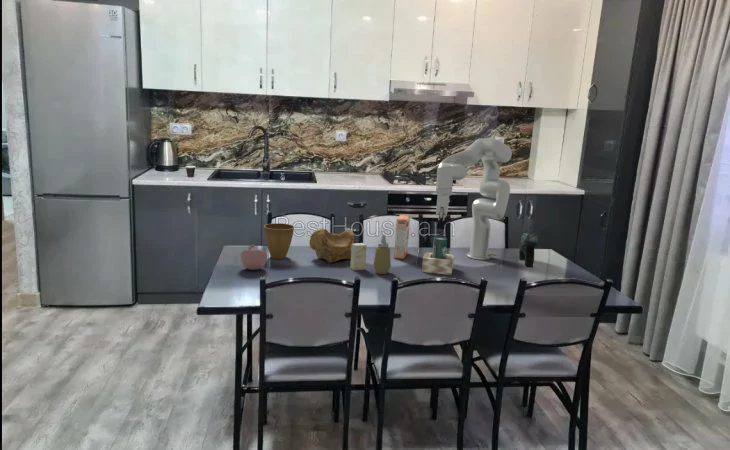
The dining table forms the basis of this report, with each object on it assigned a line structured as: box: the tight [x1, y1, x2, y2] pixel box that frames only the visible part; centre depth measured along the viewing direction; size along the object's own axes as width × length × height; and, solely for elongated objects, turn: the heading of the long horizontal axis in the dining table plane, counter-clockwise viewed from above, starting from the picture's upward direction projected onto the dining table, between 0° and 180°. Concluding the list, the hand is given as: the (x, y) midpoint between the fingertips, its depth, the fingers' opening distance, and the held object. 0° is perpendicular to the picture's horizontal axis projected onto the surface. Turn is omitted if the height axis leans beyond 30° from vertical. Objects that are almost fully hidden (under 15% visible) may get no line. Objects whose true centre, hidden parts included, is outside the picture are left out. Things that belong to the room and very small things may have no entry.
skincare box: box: [349, 242, 368, 271], centre depth 260 cm, size 6×4×12 cm
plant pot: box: [263, 222, 295, 260], centre depth 273 cm, size 15×15×16 cm
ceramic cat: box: [518, 226, 539, 268], centre depth 285 cm, size 20×6×20 cm, turn 177°
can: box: [432, 236, 448, 259], centre depth 265 cm, size 6×6×15 cm
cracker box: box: [393, 214, 411, 260], centre depth 287 cm, size 14×6×21 cm, turn 168°
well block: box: [421, 251, 455, 276], centre depth 265 cm, size 14×12×7 cm
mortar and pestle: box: [239, 244, 268, 271], centre depth 251 cm, size 12×12×11 cm
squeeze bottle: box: [373, 234, 392, 275], centre depth 255 cm, size 8×8×18 cm
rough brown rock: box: [309, 228, 355, 264], centre depth 273 cm, size 23×17×15 cm
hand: (441, 226), depth 262 cm, fingers open, 9 cm apart
